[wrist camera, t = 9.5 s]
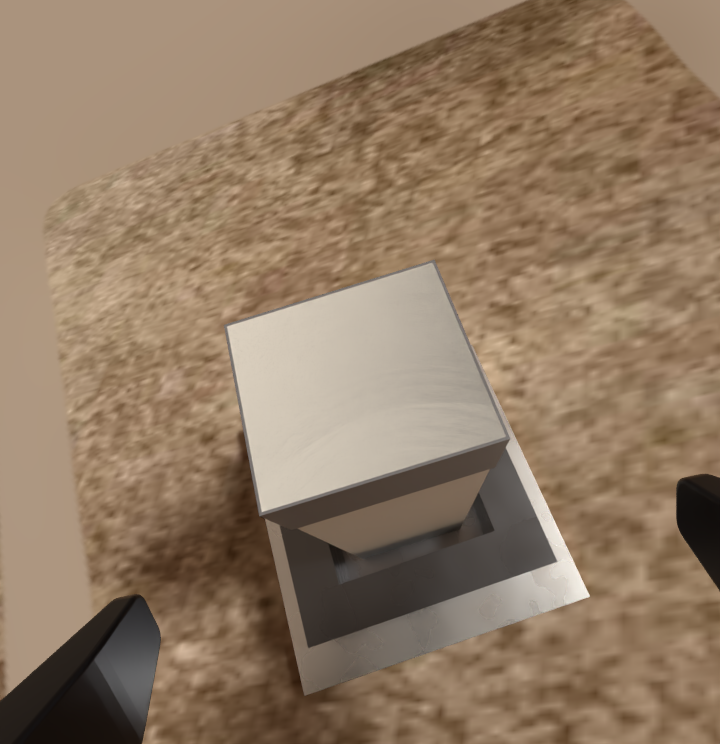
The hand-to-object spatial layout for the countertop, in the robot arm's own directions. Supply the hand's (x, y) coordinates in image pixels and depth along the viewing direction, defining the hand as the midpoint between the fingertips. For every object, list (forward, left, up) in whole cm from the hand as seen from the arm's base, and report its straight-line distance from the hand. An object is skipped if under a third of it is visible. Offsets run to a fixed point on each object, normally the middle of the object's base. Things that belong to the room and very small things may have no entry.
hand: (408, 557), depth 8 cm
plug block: (+3, 0, -12) cm, 12 cm away
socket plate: (+3, 0, -13) cm, 13 cm away
